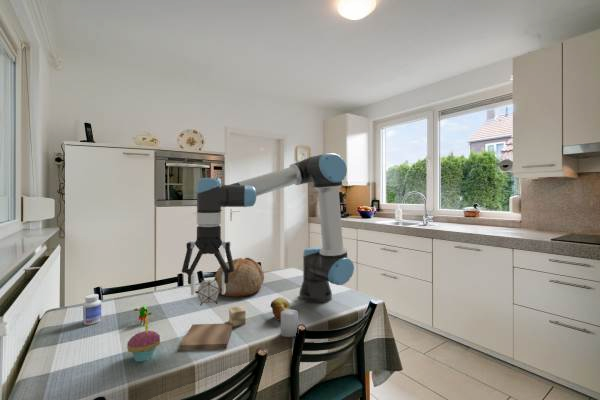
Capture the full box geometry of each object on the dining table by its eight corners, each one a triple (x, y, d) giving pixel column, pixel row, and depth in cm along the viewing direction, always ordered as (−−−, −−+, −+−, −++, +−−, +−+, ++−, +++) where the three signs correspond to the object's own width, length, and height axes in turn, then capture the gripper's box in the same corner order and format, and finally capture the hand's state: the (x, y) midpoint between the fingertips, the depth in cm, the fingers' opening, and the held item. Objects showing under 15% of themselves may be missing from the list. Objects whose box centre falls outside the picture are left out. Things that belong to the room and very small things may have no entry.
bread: (229, 279, 159) (229, 252, 159) (269, 282, 156) (270, 254, 155) (206, 296, 133) (206, 264, 133) (254, 300, 129) (254, 267, 129)
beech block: (242, 318, 110) (242, 305, 110) (245, 324, 105) (245, 310, 105) (229, 321, 108) (229, 307, 108) (231, 326, 103) (231, 313, 103)
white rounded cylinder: (296, 328, 102) (296, 308, 102) (300, 336, 96) (299, 314, 96) (279, 330, 101) (279, 310, 101) (282, 338, 95) (282, 316, 95)
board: (232, 327, 102) (232, 323, 102) (226, 348, 89) (226, 343, 89) (192, 328, 101) (192, 324, 101) (179, 350, 87) (179, 345, 87)
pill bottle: (104, 320, 107) (104, 294, 107) (90, 326, 102) (90, 299, 102) (94, 317, 109) (94, 292, 109) (79, 323, 104) (79, 297, 104)
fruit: (275, 325, 105) (275, 303, 104) (266, 316, 112) (267, 296, 112) (293, 321, 108) (293, 300, 108) (284, 312, 115) (284, 293, 115)
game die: (211, 316, 93) (211, 298, 87) (189, 304, 95) (188, 286, 89) (227, 295, 100) (228, 277, 94) (206, 285, 102) (206, 266, 96)
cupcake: (136, 349, 87) (136, 310, 87) (165, 348, 88) (165, 310, 88) (121, 366, 79) (121, 323, 79) (153, 365, 79) (153, 322, 79)
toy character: (142, 334, 98) (142, 314, 97) (120, 326, 103) (120, 308, 103) (169, 321, 107) (169, 304, 107) (147, 315, 113) (147, 298, 112)
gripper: (243, 224, 99) (243, 288, 99) (178, 224, 97) (178, 290, 97) (241, 226, 91) (240, 296, 92) (170, 226, 89) (170, 298, 90)
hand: (208, 293), depth 95 cm, fingers closed on game die, 9 cm apart
